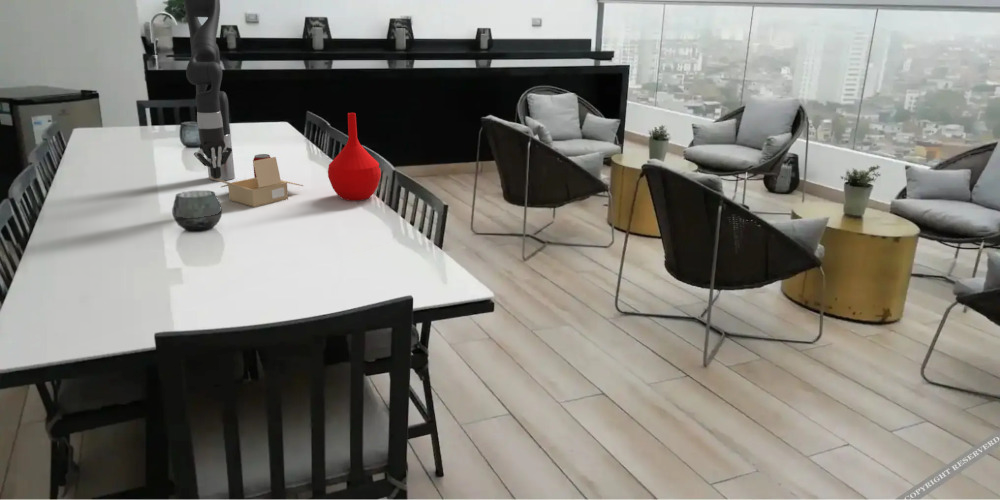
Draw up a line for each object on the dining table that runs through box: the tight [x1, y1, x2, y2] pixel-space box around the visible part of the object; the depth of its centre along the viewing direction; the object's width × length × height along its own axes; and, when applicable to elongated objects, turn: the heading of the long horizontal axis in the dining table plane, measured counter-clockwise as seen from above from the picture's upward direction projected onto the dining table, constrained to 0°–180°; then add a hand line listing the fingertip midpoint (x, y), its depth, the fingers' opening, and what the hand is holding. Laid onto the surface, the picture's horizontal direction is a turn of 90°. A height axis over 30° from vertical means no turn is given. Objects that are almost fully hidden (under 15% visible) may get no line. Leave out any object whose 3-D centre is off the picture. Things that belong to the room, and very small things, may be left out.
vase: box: [327, 112, 382, 202], centre depth 258 cm, size 18×18×30 cm
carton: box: [219, 177, 304, 208], centre depth 262 cm, size 23×23×6 cm
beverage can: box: [252, 153, 272, 178], centre depth 272 cm, size 7×7×12 cm
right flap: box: [208, 176, 247, 189], centre depth 246 cm, size 9×9×1 cm
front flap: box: [252, 156, 282, 187], centre depth 251 cm, size 9×9×1 cm
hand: (216, 178), depth 242 cm, fingers closed
